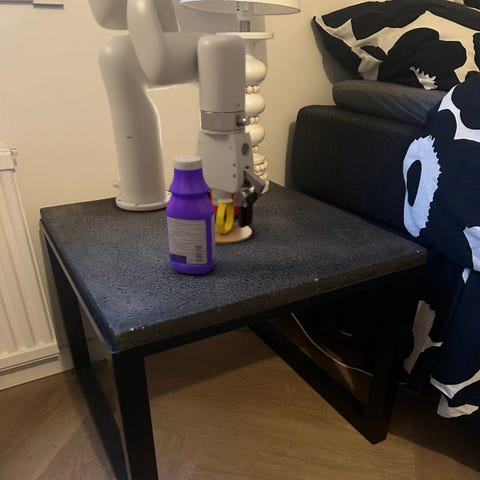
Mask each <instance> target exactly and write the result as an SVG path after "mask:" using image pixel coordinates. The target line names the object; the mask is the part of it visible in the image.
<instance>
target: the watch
mask: <svg viewBox="0 0 480 480" xmlns="http://www.w3.org/2000/svg"><path fill="white" fill-rule="evenodd" d="M218 205H219V207H218V211H217V216H215V217H216V218H215V223H217V224H216V225H217V230H218V232H219V233H222V234H227V233H228V232H229V231H230V230H231V229H232V225H233V222H234V221H235V220H234V219H235V216H234V207H233V200H232V199H228V198H223V199H219V200H218ZM226 208H227V218H226V219H225V218H224V215H225V210H226ZM224 222H226V224H225V227H224Z"/></svg>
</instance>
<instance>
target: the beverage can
mask: <svg viewBox="0 0 480 480" xmlns="http://www.w3.org/2000/svg"><path fill="white" fill-rule="evenodd" d="M209 190H210V194H211V202H212V205H213V207H214V213H215V217H217V211H218V207H219V205H218V200H219V199H223V198H228V199H232V200H233V207H234V217H237V216H239V206H241V205H242V204H241V203H240V201H239V199H238V197H237V196H236V194H232V193H227V192H223V191H219V190H215V189H211V188H209ZM225 218H227V208H226V210H225V215H224V219H225Z"/></svg>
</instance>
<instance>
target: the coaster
mask: <svg viewBox="0 0 480 480" xmlns="http://www.w3.org/2000/svg"><path fill="white" fill-rule="evenodd" d="M216 224H217V223H216V222H215V244H220V245H221V244H223V245H225V244H227V245H228V244H237V243H240V242H241V243H242V242H243V241H245V240H246V241H247V240H248V239H250V238H251V236H252V234H253V231H252V228H251V227H250V226H249V225H248V226H246V227H244V228H240V227H239V222H235V221H233V225H232V229H231V230H230V231H229V232H228V233H227V234H222V233H219V232H218V230H217V225H216ZM225 224H226V221H224V227H225Z"/></svg>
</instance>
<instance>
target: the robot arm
mask: <svg viewBox="0 0 480 480" xmlns="http://www.w3.org/2000/svg"><path fill="white" fill-rule="evenodd" d="M87 2H88V5H89V9H90V11H91V13H92V17H93V18H94V20H95V22H96V23H97V25H99V26H100V27H101V28H103V29H106V30H110V31H111V30H112V31H128V34H122V35H116V36H112V37H109V38H107V39H106V40H105V41H104V42H103V43H102V44H101V45H100V48H99V50H98V54H97V62H98V69H99V72H100V75H101V78H102V81H103V85H104V88H105V91H106V95H107V100H108V105H109V110H110V117H111V122H112V124H111V125H112V130H113V137H114V145H115V151H116V159H117V166H118V174H119V176H118V177H117V180H116V181H113V183H112V187H113V188H116V189H118V190H119V194H118V195H117V196H116V197H115V204H116V206H117V207H119V208H120V209H122V210H125V211H131V212H133V211H134V212H148V211H156V210H160V209H164V208H167V204H168V202H169V199H170V197H171V194H172V193H171V192H170V191H168V190H167V187H166V174H165V173H166V172H165V161H164V151H163V140H162V127H161V119H160V114H159V111H158V108H157V106H156V104H155V103H154V102H153V100H152V98H151V97H150V95H149V93H148V92H149V91H150V92H151V91H158V90H166V89H167V90H168V89H173V88H176V87H178V86H183V85H197V84H198V101H199V122H200V125H199V126H200V128H198V131H197V137H196V149H195V155H196V156H200V157H201V158H202V166H203V167H202V170H203V176H204V180H205V182H206V184H207V185H208V187H209V189H210V188H211V189H215V190H219V191H223V192H227V193H232V194H236V196H237V197H238V199H239V201H240V203H241V204H242V205H241V206H239V214H238V223H239V227H240V228H244V227H246V226H248V227H249V226H250V225H252V223H253V218H254V217H253V216H254V204H256V202H257V200H258V199H260V198H261V197H262V194H263V191H264V190H265V188H266V187H267V183H266V181H265V180H264V179H263V178H262V177H260V176H259V175H258V174H257V173H255V159H254V149H253V142H252V137H251V133H250V131H249V130H247V129H246V127H249V125H250V124H251V118H250V116H246V87H247V86H246V82H247V81H246V77H247V76H246V74H247V73H246V71H247V70H246V69H247V67H246V66H247V63H246V61H247V49H246V43H245V40H244V39H243V37H242V36H240V35H237V34H213V33H210V32H200V31H181V28H180V23H179V19H178V16H177V11H176V7H175V3H174V0H87ZM252 188H253V189H252ZM211 189H210V190H211ZM210 190H209V191H208V193H207V195H208V197H209V199H210V201H211V191H210Z"/></svg>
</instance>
